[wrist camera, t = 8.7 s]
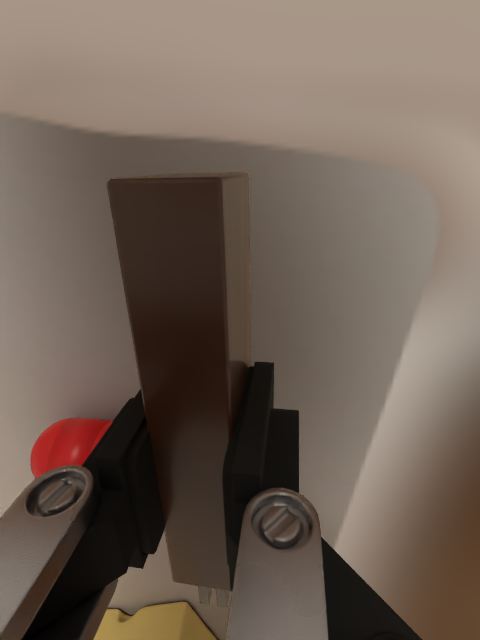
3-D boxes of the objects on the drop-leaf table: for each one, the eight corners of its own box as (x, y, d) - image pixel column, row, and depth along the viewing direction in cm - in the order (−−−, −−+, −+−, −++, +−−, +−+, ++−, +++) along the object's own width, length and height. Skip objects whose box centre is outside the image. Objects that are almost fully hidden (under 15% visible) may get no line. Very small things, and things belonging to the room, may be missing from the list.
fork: (202, 590, 15) (179, 693, 12) (156, 174, 8) (79, 180, 5) (263, 599, 14) (255, 708, 12) (266, 171, 8) (249, 176, 5)
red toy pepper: (52, 401, 19) (2, 450, 16) (157, 409, 18) (127, 464, 15) (67, 450, 20) (24, 505, 17) (165, 460, 20) (139, 520, 16)
